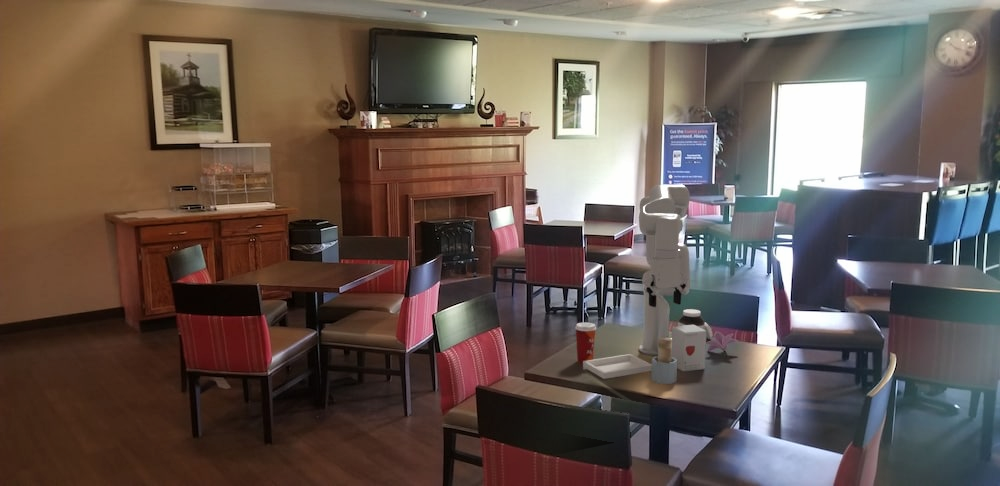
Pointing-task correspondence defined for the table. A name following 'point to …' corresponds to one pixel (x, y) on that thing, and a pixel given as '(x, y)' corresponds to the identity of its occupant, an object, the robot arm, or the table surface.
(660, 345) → the dowel
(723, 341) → the lily
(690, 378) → the table surface
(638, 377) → the table surface
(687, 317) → the spread jar
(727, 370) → the table surface
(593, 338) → the paper cup
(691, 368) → the supplement box
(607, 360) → the tray
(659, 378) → the cup
